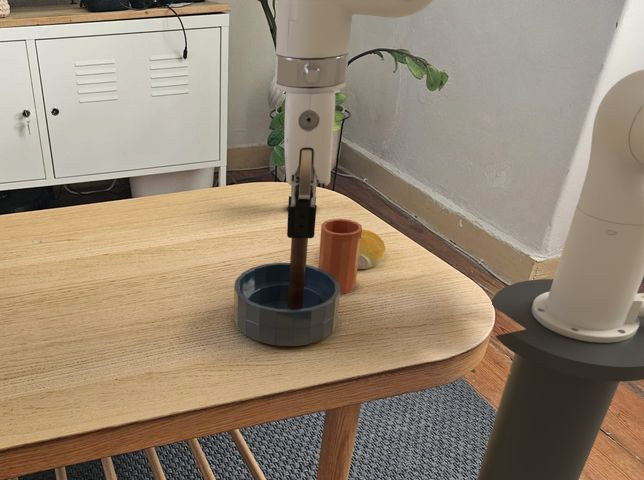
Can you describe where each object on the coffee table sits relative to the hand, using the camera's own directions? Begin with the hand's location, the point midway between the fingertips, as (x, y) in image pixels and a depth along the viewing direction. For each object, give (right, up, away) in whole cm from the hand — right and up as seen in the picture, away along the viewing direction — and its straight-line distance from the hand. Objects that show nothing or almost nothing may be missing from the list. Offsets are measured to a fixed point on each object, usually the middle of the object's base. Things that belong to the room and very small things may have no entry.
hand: (300, 231), depth 79 cm
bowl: (-1, -11, +6) cm, 13 cm away
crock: (+8, -5, +14) cm, 17 cm away
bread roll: (+13, 0, +21) cm, 25 cm away
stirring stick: (0, -9, +6) cm, 11 cm away
